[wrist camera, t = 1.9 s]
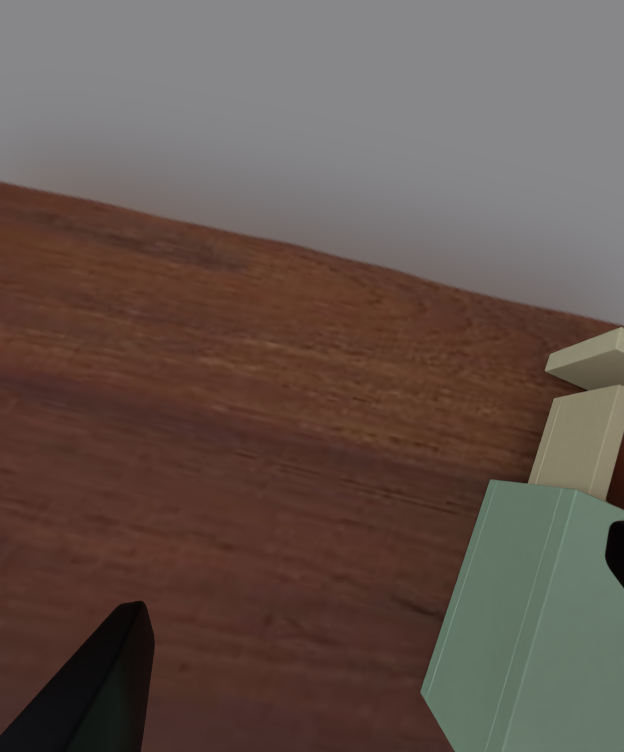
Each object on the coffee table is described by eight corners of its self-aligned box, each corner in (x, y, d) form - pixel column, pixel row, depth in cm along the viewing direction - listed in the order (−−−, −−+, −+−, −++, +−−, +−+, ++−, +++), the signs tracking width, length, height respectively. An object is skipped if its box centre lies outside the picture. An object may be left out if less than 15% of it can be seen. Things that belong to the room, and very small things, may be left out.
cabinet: (489, 478, 24) (576, 488, 17) (693, 568, 24) (867, 616, 17) (419, 692, 22) (486, 806, 15) (645, 792, 22) (822, 956, 15)
